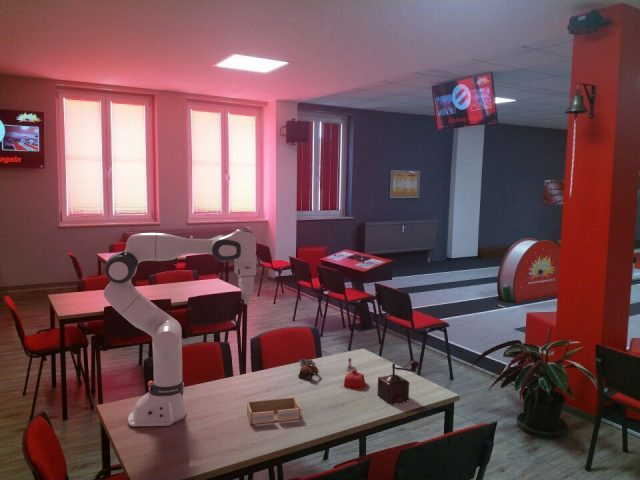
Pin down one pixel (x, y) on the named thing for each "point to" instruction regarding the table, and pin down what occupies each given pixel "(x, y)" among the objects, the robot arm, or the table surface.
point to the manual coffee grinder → (395, 386)
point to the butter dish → (354, 381)
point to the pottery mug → (309, 374)
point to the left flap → (261, 417)
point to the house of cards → (350, 366)
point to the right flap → (289, 414)
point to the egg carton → (307, 362)
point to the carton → (271, 406)
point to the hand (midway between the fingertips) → (245, 301)
